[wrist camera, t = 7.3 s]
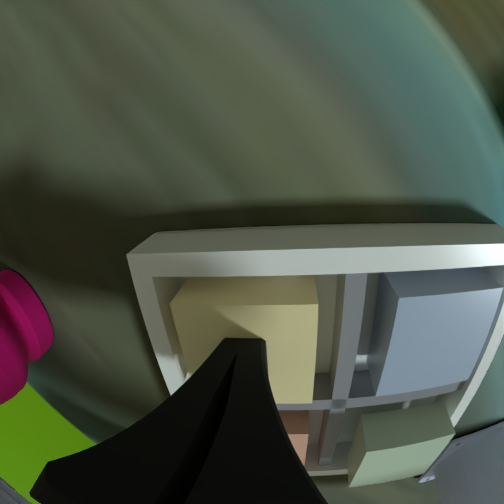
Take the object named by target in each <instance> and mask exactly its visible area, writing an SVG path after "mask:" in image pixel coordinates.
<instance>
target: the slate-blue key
mask: <svg viewBox="0 0 504 504" xmlns="http://www.w3.org/2000/svg"><path fill="white" fill-rule="evenodd" d="M502 290H503V287H502V286H501V285H500V284H499V283H498V282H497V281H496V280H495V279H494V278H492V277H491V276H490V275H489V274H488V273H487V272H486V271H484V270H483V269H482V268H481V267H468V268H453V269H436V270H418V271H399V272H380V278H379V287H378V294H377V302H376V309H375V315H374V322H373V328H372V334H371V339H370V344H369V350H368V355H367V360H366V361H367V365H368V369H369V373H370V377H371V381H372V385H373V389H374V393H375V397H377V396H385V395H392V394H399V393H406V392H412V391H418V390H423V389H429V388H434V387H439V386H443V385H448V384H452V383H457V382H461V381H465V380H468V378H469V376H470V374H471V372H472V370H473V368H474V366H475V364H476V362H477V359H478V357H479V355H480V352H481V350H482V348H483V345H484V343H485V340H486V338H487V335H488V333H489V330H490V327H491V325H492V322H493V319H494V316H495V313H496V310H497V307H498V304H499V301H500V297H501V294H502Z"/></svg>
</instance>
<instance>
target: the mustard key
mask: <svg viewBox="0 0 504 504" xmlns="http://www.w3.org/2000/svg"><path fill="white" fill-rule="evenodd" d="M318 306H319V304H318V296H317V289H316V282H315V275H287V276H228V277H188V279H187V280H186V282H185V283H184V284H183V286H182V287H181V289H180V290H179V291H178V293H177V294H176V296H175V297H174V298H173V300H172V301H171V303H170V307H171V311H172V315H173V319H174V323H175V327H176V330H177V334H178V338H179V341H180V345H181V349H182V352H183V356H184V359H185V362H186V366H187V369H188V372H189V376H190V377H191V375H192V374H193V373H194V372H195V371H196V370H197V369H198V368H199V367H200V366H201V365H202V364H203V362H204V361H205V360H206V359H207V358H208V357H209V355H210V354H211V353H212V352H213V351H214V350H215V348H216V347H217V346H218V345H219V343H220V342H221V341H222V340H223V339H224V338H263V339H264V340H265V341H266V347H267V362H268V376H269V382H270V386H271V390H272V394H273V397H274V400H275V403H276V404H306V403H312V399H313V388H314V376H315V363H316V348H317V329H318Z"/></svg>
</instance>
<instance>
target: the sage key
mask: <svg viewBox="0 0 504 504" xmlns="http://www.w3.org/2000/svg"><path fill="white" fill-rule="evenodd" d="M454 435H455V430H454V427H453V425H452V422H451V419H450V417H449V414H448V412H447V409H446V407H445V404H444V402H443V401H441V402H436V403H432V404H427V405H422V406H417V407H411V408H406V409H400V410H393V411H386V412H379V413H370V414H361V417H360V420H359V423H358V426H357V429H356V432H355V435H354V438H353V441H352V443H351V446H350V449H349V452H348V454H347V468H348V486H349V487H355V486H363V485H370V484H377V483H383V482H388V481H394V480H399V479H403V478H408V477H412V476H416V475H420V474H424V472H425V471H426V470H427V469H428V468H429V467H430V466H431V464H432V463H433V462H434V461H435V460H436V458H437V457H438V456H439V455H440V453H441V452H442V451H443V450H444V448H445V447H446V446H447V444H448V443H449V442H450V440H451V439H452V438H453V436H454Z"/></svg>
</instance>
